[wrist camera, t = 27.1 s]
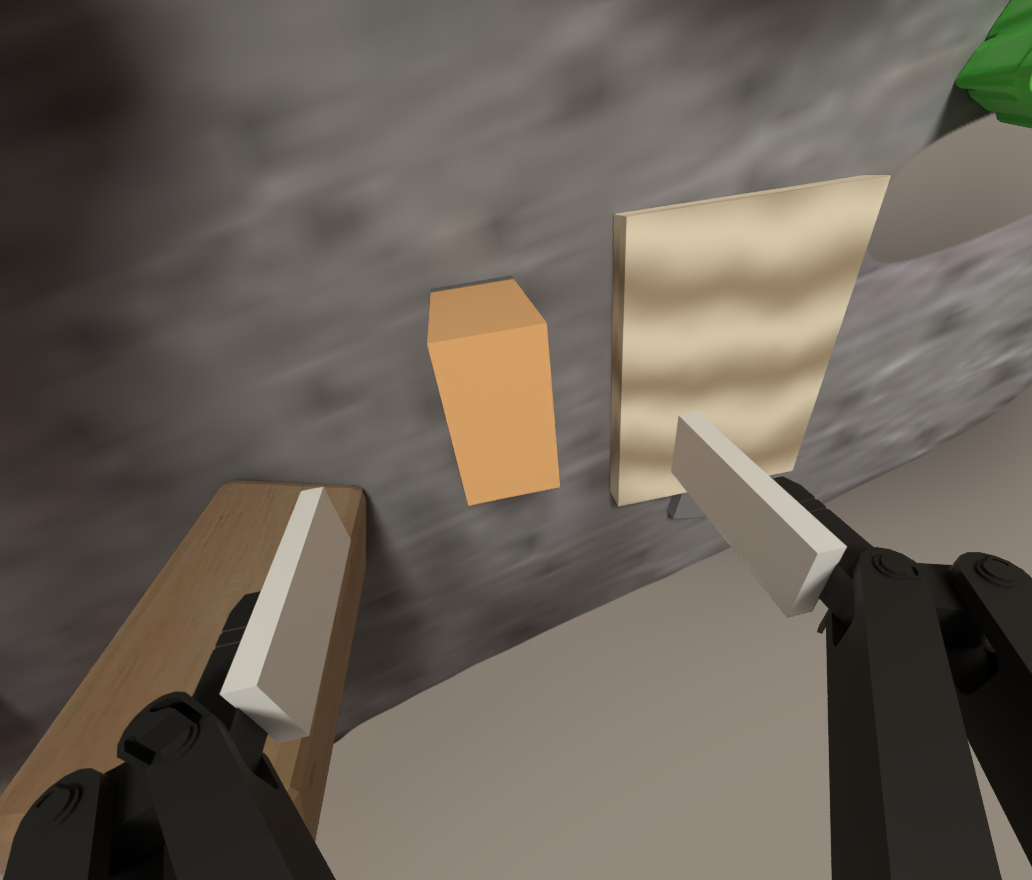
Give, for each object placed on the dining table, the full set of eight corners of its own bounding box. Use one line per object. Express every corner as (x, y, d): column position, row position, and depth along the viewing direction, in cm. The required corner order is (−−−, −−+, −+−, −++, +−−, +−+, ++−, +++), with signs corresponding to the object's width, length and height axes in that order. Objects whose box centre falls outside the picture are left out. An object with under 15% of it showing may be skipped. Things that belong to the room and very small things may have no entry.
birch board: (613, 214, 24) (626, 216, 22) (861, 175, 25) (891, 175, 23) (610, 491, 36) (618, 506, 35) (776, 457, 37) (792, 470, 36)
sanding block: (431, 288, 25) (427, 343, 16) (511, 275, 25) (546, 323, 17) (460, 414, 30) (468, 505, 21) (526, 402, 30) (559, 487, 22)
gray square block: (676, 475, 37) (685, 486, 36) (715, 472, 38) (725, 483, 36) (665, 507, 39) (673, 519, 38) (702, 504, 40) (711, 516, 38)
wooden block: (368, 480, 31) (289, 815, 15) (367, 567, 37) (308, 889, 20) (222, 473, 29) (-64, 861, 13) (243, 567, 34) (59, 932, 18)
